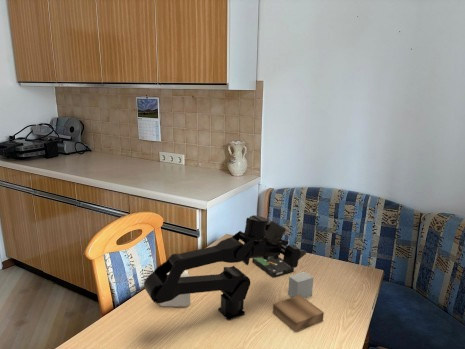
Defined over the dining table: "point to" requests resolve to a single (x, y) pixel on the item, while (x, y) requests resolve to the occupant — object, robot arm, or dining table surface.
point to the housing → (300, 285)
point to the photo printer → (179, 297)
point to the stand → (298, 313)
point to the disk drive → (273, 266)
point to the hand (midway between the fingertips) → (296, 247)
